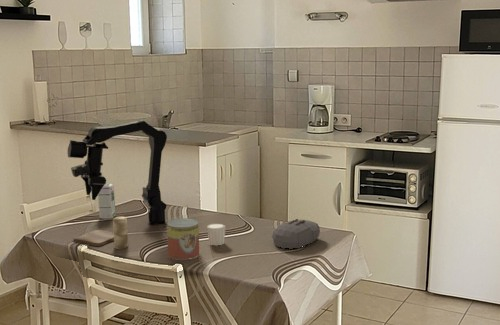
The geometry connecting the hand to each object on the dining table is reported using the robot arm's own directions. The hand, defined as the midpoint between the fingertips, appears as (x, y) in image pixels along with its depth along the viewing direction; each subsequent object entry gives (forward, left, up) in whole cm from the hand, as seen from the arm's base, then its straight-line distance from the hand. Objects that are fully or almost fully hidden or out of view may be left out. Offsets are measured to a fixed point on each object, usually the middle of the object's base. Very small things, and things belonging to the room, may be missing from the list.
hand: (90, 197), depth 249 cm
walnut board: (-2, +11, -14) cm, 18 cm away
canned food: (-31, +38, -15) cm, 51 cm away
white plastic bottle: (-7, -21, -15) cm, 26 cm away
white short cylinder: (-45, +29, -15) cm, 55 cm away
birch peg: (-10, +23, -14) cm, 29 cm away
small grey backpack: (-74, +37, -15) cm, 84 cm away
